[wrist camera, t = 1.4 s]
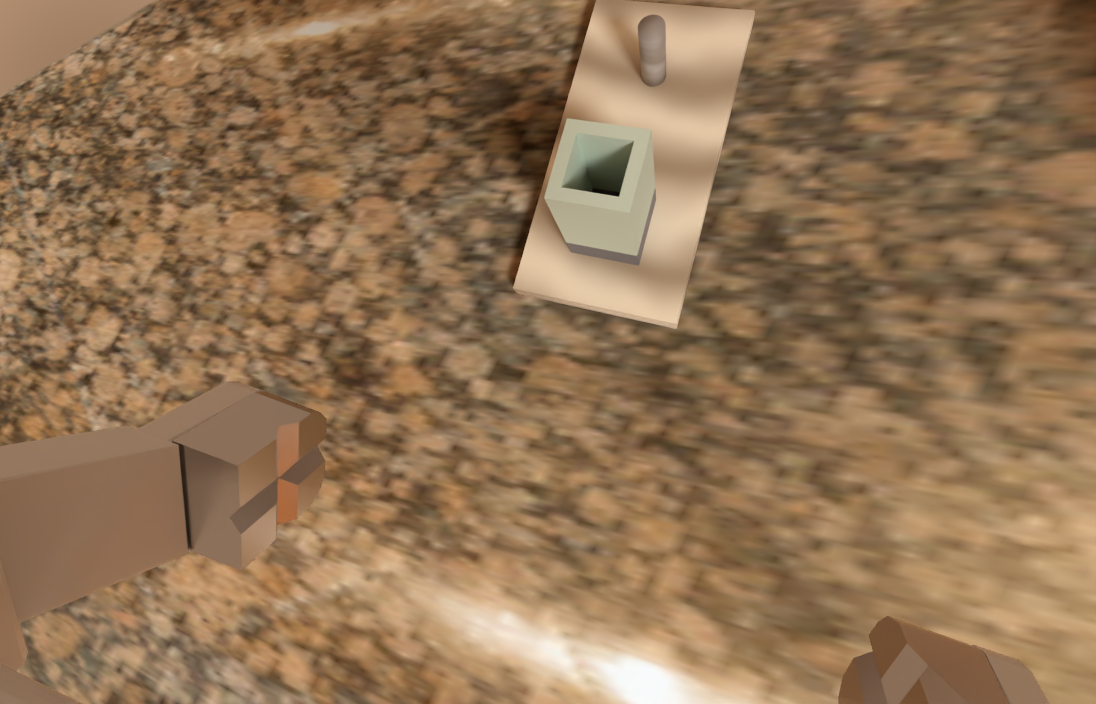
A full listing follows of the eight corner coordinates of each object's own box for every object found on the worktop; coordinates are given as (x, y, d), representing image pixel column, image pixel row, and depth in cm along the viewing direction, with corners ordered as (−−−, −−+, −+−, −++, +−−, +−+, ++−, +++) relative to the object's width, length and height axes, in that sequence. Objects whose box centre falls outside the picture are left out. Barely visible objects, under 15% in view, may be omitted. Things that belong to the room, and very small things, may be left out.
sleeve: (588, 188, 42) (566, 118, 33) (656, 199, 40) (651, 129, 32) (570, 252, 41) (544, 197, 32) (638, 265, 40) (629, 212, 31)
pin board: (599, 12, 46) (587, -58, 40) (752, 25, 43) (766, -48, 37) (518, 293, 43) (492, 266, 37) (676, 328, 40) (677, 305, 34)
